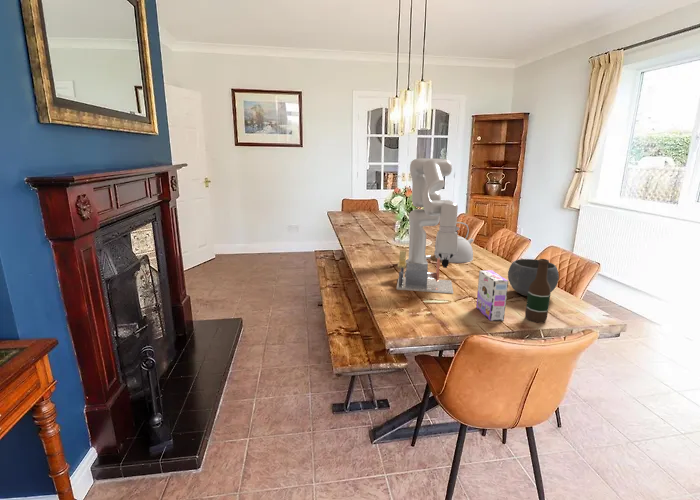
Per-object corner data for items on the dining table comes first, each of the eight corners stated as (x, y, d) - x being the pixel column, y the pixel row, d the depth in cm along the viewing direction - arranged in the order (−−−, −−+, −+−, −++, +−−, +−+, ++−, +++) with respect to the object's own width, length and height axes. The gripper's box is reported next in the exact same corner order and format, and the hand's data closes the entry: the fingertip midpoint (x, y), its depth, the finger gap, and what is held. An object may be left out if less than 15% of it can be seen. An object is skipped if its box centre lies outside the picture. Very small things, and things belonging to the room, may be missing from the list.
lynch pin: (438, 279, 183) (439, 257, 180) (438, 282, 178) (440, 260, 175) (404, 277, 186) (405, 255, 183) (404, 280, 181) (405, 258, 178)
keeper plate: (406, 264, 191) (407, 250, 189) (405, 268, 184) (406, 254, 182) (398, 263, 191) (399, 250, 190) (397, 267, 185) (398, 253, 183)
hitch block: (450, 281, 189) (452, 263, 187) (453, 293, 172) (454, 274, 170) (398, 277, 194) (399, 260, 192) (396, 289, 177) (397, 270, 175)
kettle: (461, 251, 247) (464, 218, 242) (483, 260, 227) (487, 224, 221) (428, 254, 240) (430, 219, 234) (448, 264, 219) (450, 226, 213)
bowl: (566, 300, 165) (571, 268, 161) (527, 305, 159) (532, 271, 155) (532, 285, 184) (536, 256, 180) (496, 289, 178) (500, 259, 174)
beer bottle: (537, 324, 141) (546, 263, 135) (520, 317, 148) (527, 258, 142) (551, 320, 145) (560, 261, 139) (533, 313, 151) (541, 256, 145)
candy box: (504, 321, 144) (509, 280, 140) (489, 321, 144) (494, 280, 140) (488, 306, 157) (492, 269, 153) (475, 307, 157) (478, 269, 153)
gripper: (463, 228, 176) (460, 265, 180) (430, 227, 178) (428, 264, 183) (465, 231, 169) (461, 270, 173) (431, 230, 171) (428, 268, 176)
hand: (444, 267), depth 178 cm, fingers closed
